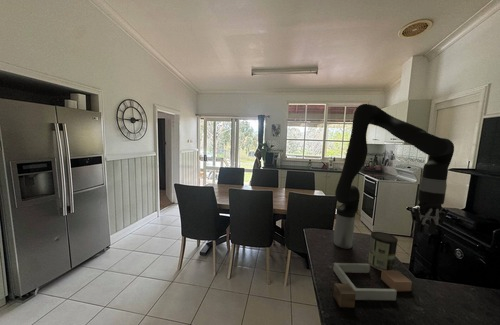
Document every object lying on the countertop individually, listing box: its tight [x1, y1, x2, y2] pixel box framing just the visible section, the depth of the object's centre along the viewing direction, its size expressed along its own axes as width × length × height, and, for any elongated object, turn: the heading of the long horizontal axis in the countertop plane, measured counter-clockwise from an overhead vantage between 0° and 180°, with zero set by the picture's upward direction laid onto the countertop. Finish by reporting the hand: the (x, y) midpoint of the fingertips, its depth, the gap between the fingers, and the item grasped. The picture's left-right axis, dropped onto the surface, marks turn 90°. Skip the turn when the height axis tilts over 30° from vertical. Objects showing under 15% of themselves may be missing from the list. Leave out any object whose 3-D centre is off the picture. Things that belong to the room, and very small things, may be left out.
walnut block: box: [332, 282, 356, 308], centre depth 71 cm, size 5×5×5 cm
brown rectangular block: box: [380, 269, 413, 292], centre depth 81 cm, size 7×7×4 cm
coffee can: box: [367, 231, 398, 272], centre depth 94 cm, size 10×10×14 cm
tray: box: [332, 262, 398, 301], centre depth 80 cm, size 16×15×4 cm
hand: (425, 232), depth 79 cm, fingers open, 4 cm apart
